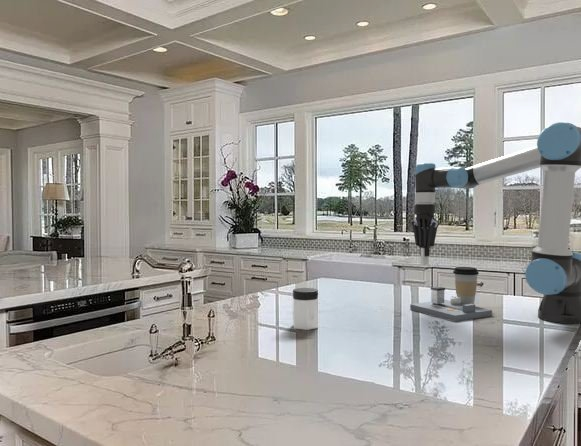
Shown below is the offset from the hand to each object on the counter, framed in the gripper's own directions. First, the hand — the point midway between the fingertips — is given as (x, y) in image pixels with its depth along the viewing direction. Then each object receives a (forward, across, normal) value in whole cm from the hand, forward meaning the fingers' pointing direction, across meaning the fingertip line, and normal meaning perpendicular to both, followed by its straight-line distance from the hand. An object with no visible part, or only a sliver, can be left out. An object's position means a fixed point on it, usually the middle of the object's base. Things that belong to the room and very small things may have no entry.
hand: (424, 264), depth 190 cm
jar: (+16, -6, +56) cm, 59 cm away
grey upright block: (+14, -7, 0) cm, 15 cm away
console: (+16, -13, 0) cm, 21 cm away
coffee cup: (+16, -9, -13) cm, 23 cm away
